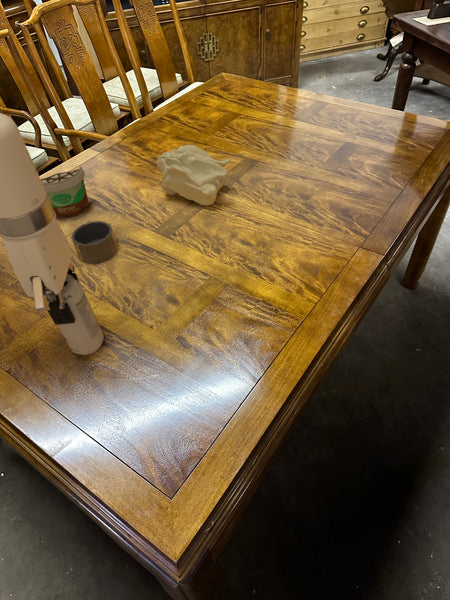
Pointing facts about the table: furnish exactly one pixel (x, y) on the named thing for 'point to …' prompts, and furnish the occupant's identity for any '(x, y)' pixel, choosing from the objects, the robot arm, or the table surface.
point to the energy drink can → (79, 319)
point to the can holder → (95, 242)
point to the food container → (67, 192)
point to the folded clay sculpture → (192, 174)
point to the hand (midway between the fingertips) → (69, 306)
